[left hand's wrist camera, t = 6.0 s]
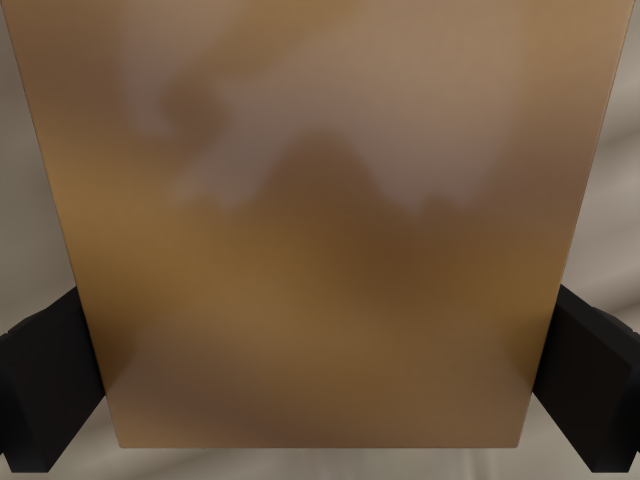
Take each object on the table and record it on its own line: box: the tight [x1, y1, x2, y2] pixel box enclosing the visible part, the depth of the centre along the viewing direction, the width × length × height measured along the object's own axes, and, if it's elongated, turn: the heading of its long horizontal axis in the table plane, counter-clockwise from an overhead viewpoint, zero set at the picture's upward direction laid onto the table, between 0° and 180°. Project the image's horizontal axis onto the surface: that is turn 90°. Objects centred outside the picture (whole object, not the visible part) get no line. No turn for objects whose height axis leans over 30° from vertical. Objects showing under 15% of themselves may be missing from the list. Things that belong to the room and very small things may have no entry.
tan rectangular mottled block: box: [0, 0, 635, 448], centre depth 12 cm, size 17×11×11 cm, turn 0°
